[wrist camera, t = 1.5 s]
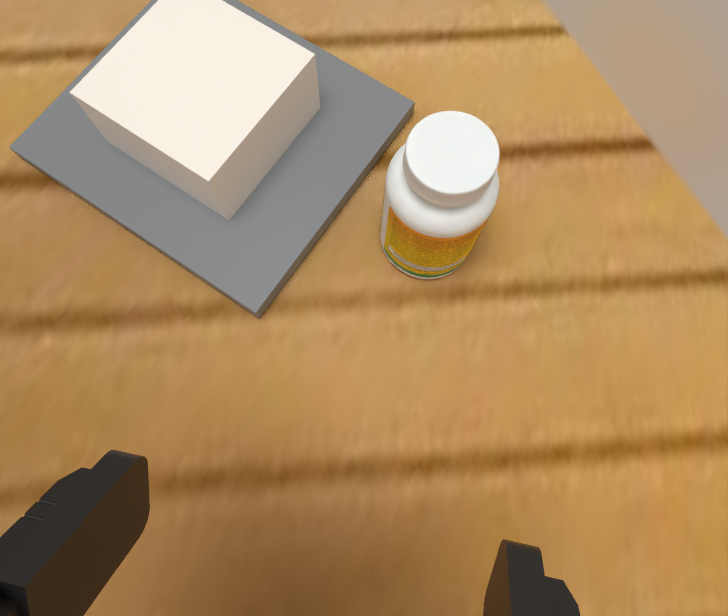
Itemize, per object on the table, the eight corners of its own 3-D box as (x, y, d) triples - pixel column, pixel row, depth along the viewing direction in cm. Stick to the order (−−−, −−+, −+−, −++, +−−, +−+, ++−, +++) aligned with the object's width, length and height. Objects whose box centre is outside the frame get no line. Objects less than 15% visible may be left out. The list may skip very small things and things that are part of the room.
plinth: (107, 141, 33) (69, 92, 28) (203, 37, 35) (181, -24, 31) (229, 220, 31) (208, 181, 27) (320, 107, 34) (315, 54, 29)
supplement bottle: (371, 205, 33) (377, 104, 24) (459, 190, 34) (497, 85, 24) (390, 290, 32) (403, 217, 23) (481, 273, 32) (531, 195, 23)
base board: (21, 158, 34) (9, 147, 33) (187, -16, 38) (182, -32, 36) (259, 318, 31) (255, 313, 30) (412, 114, 35) (414, 102, 34)
